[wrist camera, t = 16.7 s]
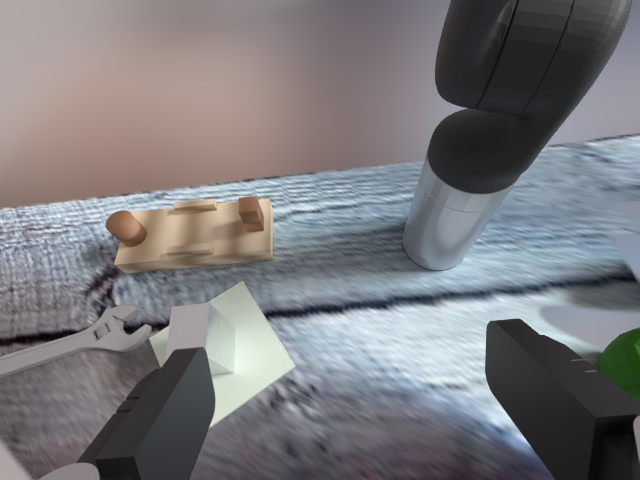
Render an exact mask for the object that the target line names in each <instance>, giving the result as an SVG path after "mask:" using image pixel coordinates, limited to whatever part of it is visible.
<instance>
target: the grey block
mask: <svg viewBox="0 0 640 480" xmlns="http://www.w3.org/2000/svg"><path fill="white" fill-rule="evenodd" d="M235 334H236V328H235V327H234V326H233V325H232V324H231V323H230V322H229V321H228V320H227V319H226V318H225V317H224V316H223V315H222V314H221V313H220V312H218V311H217V310H216V309H215V308H214V307H213V306H212V305H211V304H210V303H200V304H192V305H183V306H175V307H172V308H171V316H170V324H169V331H168V339H167V347H166V354H165V361H166V360H167V359H168V358H169V356H170V355H171V354H172V352H173V351H174V350H176V349H184V348H195V347H203V348H204V349H205V350H206V353H207V357H208V362H209V366H210V371H211V376H212V375H220V374H229V373H234V369H235Z"/></svg>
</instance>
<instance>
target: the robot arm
mask: <svg viewBox="0 0 640 480" xmlns="http://www.w3.org/2000/svg"><path fill="white" fill-rule="evenodd" d="M631 3H632V0H451V2H450V6H449V9H448V12H447V16H446V19H445V23H444V27H443V30H442V34H441V38H440V42H439V46H438V51H437V57H436V66H435V83H436V87H437V90H438V93H439V94H440V96H441V97H442V98H443V99H444V100H446V101H448V102H450V103H452V104H454V105H457V106H461V107H466V108H468V109H464V110H461V111H458V112H455V113H453V114H451V115H449V116H448V117H446V118H445V119H444V120H442V121H441V122H440V123H439V125H438V126H437V127H436V129H435V131H434V132H433V135H432V138H431V140H430V144H429V147H428V151H427V154H426V157H425V161H424V164H423V168H422V171H421V175H420V178H419V182H418V185H417V188H416V192H415V195H414V198H413V202H412V205H411V209H410V212H409V215H408V219H407V222H406V225H405V229H404V233H403V236H402V243H403V247H404V249H405V251H406V253H407V255H408V256H409V257H410V259H412V260H413V261H414V262H415V263H417V264H418V265H420V266H422V267H424V268H427V269H431V270H446V269H450V268H453V267H455V266H456V265H458V264H459V263H460V262H461V261H462V260H463V258H464V257H465V256H466V254H467V253H468V251H469V250H470V248H471V247H472V246H473V244H474V243H475V241H476V240H477V238H478V237H479V235H480V234H481V232H482V231H483V229H484V228H485V226H486V225H487V223H488V222H489V220H490V219H491V218H492V216H493V215H494V213H495V212H496V210H497V209H498V207H499V206H500V204H501V203H502V201H503V200H504V198H505V197H506V195H507V194H508V192H509V191H510V189H511V188H512V186H513V185H514V183H515V182H516V180H517V179H518V178H519V176H520V175H521V174H522V173H523V172H524V171H526V170H527V169H528V167H529V166H530V165H531V164H532V163H533V161H534V160H535V159H536V157H537V156H538V154H539V153H540V152H541V150H542V149H543V148H544V146H545V145H546V144H547V142H548V141H549V140H550V139H551V137H552V136H553V135H554V133H555V132H556V131H557V130H558V128H559V127H560V126H561V125H562V124H563V122H564V121H565V120H566V119H567V117H568V116H569V115H570V114H571V112H572V111H573V110H574V109H575V107H576V106H577V105H578V104H579V102H580V101H581V99H582V98H583V97H584V96H585V94H586V93H587V92H588V90H589V89H590V87H591V86H592V85H593V84H594V82H595V80H596V79H597V77H598V76H599V74H600V73H601V71H602V70H603V68H604V67H605V65H606V63H607V62H608V60H609V59H610V57H611V56H612V54H613V52H614V50H615V48H616V46H617V44H618V42H619V39H620V37H621V35H622V33H623V30H624V29H625V26H626V23H627V20H628V17H629V13H630V9H631ZM485 373H486V378H487V382H488V385H489V388H490V390H491V392H492V393H493V395H494V396H495V398H496V399H497V400H498V402H499V403H500V404H501V406H502V407H503V409H504V410H505V411H506V413H507V414H508V415H509V417H510V418H511V419H512V421H513V422H514V424H515V425H516V426H517V428H518V429H519V430H520V432H521V433H522V435H523V436H524V437H525V439H526V440H527V441H528V443H529V444H530V445H531V447H532V448H533V450H534V451H535V452H536V454H537V455H538V456H539V458H540V459H541V460H542V462H543V463H544V465H545V466H546V467H547V469H548V470H549V471H550V473H551V474H552V476H553V477H554V478H555V480H640V402H638V401H637V400H636V399H635V398H633V397H632V396H631V395H629V394H628V393H627V392H625V391H624V390H623V389H622V388H620V387H619V386H618V385H616V384H615V383H614V382H613V381H611V380H610V379H609V378H607V377H606V376H605V375H603V374H602V373H601V372H597V371H596V368H594V367H593V366H592V365H591V364H589V363H588V362H587V361H585V360H584V361H583V360H582V358H581V357H580V356H579V355H578V354H576V353H575V352H574V351H572V350H571V349H570V348H569V347H567V346H566V345H564V344H562V343H560V342H558V341H556V340H553V339H551V338H549V337H547V336H545V335H539V334H538V333H537V332H536V331H535V330H533V329H532V328H531V327H530V326H528V325H527V324H526V323H525V322H524V321H522V320H521V319H508V320H497V321H490V322H489V323H488V325H487V331H486V361H485ZM215 401H216V400H215V391H214V386H213V381H212V376H211V371H210V366H209V362H208V357H207V353H206V350H205V349H204V348H203V347H195V348H184V349H176V350H174V351H173V352H172V354H171V355H170V356H169V358H168V359H167V360H166V362H165V363H164V365H163V366H162V367H161V369H155V370H154V371H153V372H151V373H150V374H149V375H147V376H146V377H145V378H144V379H142V380H141V381H140V382H138V383H137V385H136V386H135V387H134V389H133V390H132V391H131V392H130V394H129V395H128V396H127V399H126V401H124V402H123V403H122V404H121V405H120V407H119V408H118V409H117V412H116V414H113V416H112V417H111V418H110V420H109V421H108V422H107V423H106V425H105V426H104V427H103V429H102V430H101V431H100V433H99V434H98V435H97V436H96V438H95V439H94V440H93V442H92V443H91V444H90V445H89V447H88V448H87V449H86V451H85V452H84V453H83V454H82V456H81V457H80V458H79V460H78V461H77V462H76V463H75V464H71V465H67V466H64V467H61V468H59V469H57V470H55V471H52V472H51V473H49V474H47V475H45V476H44V477H42V478H40V479H39V480H189V478H190V476H191V473H192V471H193V468H194V465H195V463H196V460H197V458H198V455H199V453H200V450H201V447H202V445H203V442H204V440H205V437H206V435H207V432H208V429H209V427H210V424H211V422H212V419H213V416H214V412H215Z"/></svg>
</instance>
